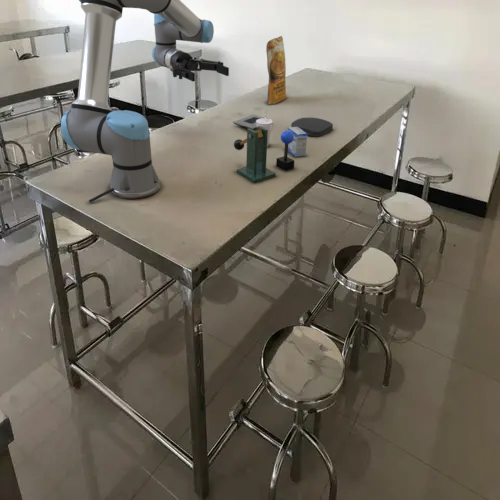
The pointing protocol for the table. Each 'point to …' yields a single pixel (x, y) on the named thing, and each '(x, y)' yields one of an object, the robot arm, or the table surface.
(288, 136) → the blue knob joystick
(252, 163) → the switch bracket
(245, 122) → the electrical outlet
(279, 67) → the pancake mix bag
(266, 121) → the smoothie
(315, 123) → the media streaming box
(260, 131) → the switch lever
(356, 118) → the table surface
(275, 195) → the table surface
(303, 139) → the medicine box
